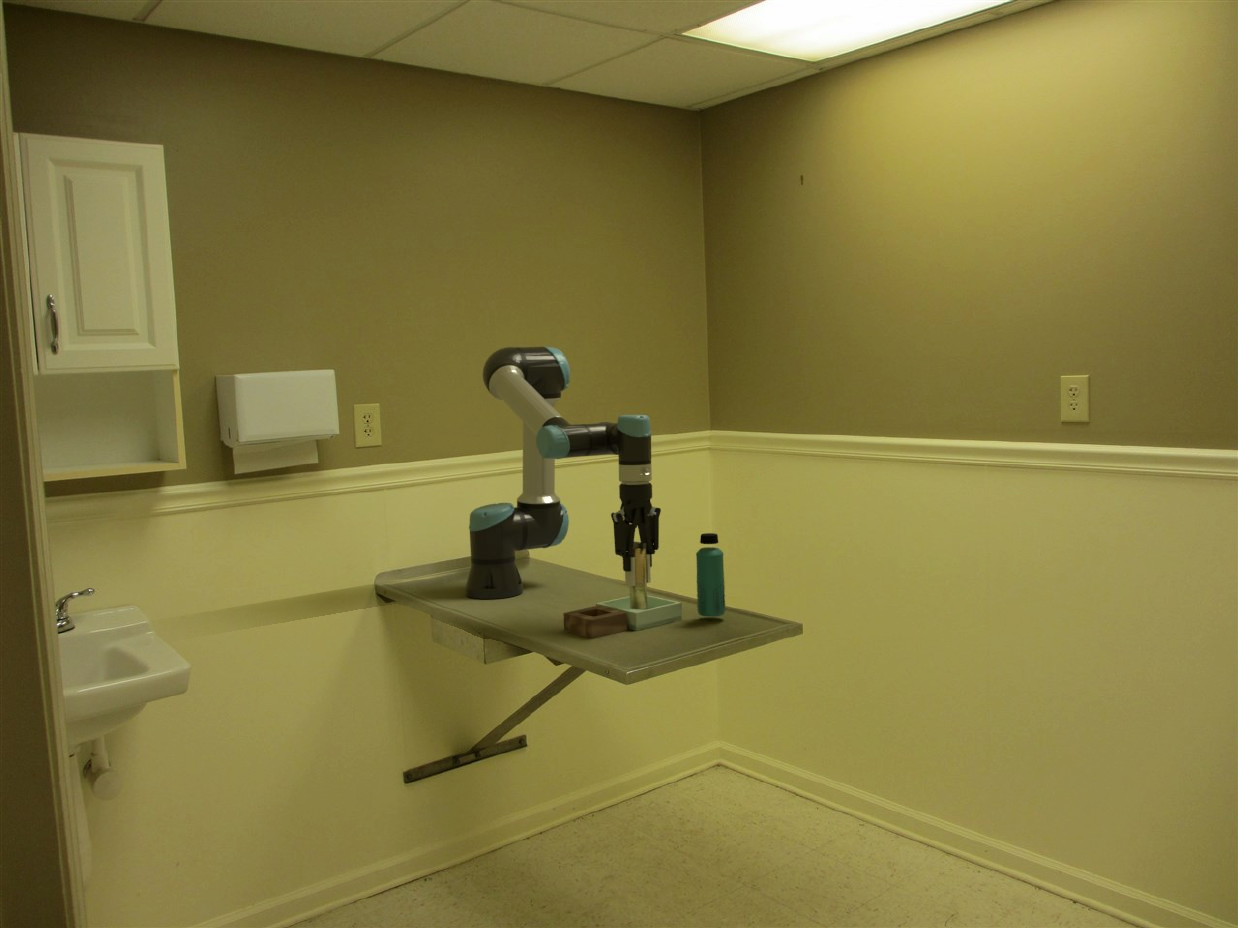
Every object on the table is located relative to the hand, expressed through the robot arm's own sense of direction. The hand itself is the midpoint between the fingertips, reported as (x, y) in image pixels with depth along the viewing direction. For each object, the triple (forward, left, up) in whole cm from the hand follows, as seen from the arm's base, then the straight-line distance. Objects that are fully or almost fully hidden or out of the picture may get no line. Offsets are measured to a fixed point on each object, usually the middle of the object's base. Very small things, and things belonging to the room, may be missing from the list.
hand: (638, 583), depth 230 cm
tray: (0, 0, -9) cm, 9 cm away
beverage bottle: (+12, +11, -9) cm, 19 cm away
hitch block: (0, -13, -9) cm, 16 cm away
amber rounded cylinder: (0, 0, -6) cm, 6 cm away
